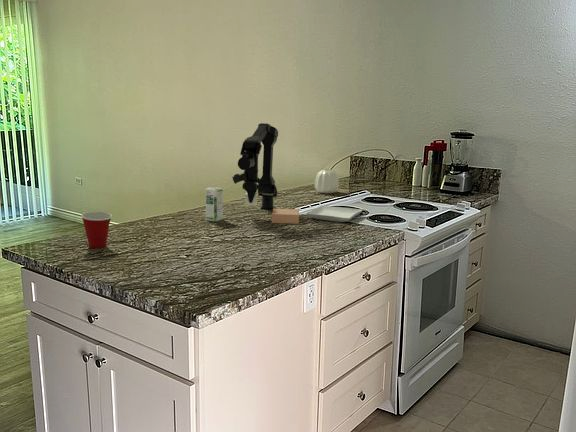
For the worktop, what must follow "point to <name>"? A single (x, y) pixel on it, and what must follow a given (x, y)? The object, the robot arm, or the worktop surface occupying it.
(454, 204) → the worktop surface
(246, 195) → the block
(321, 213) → the salad plate
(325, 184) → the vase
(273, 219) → the stand
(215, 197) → the syrup box
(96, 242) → the plastic cup
